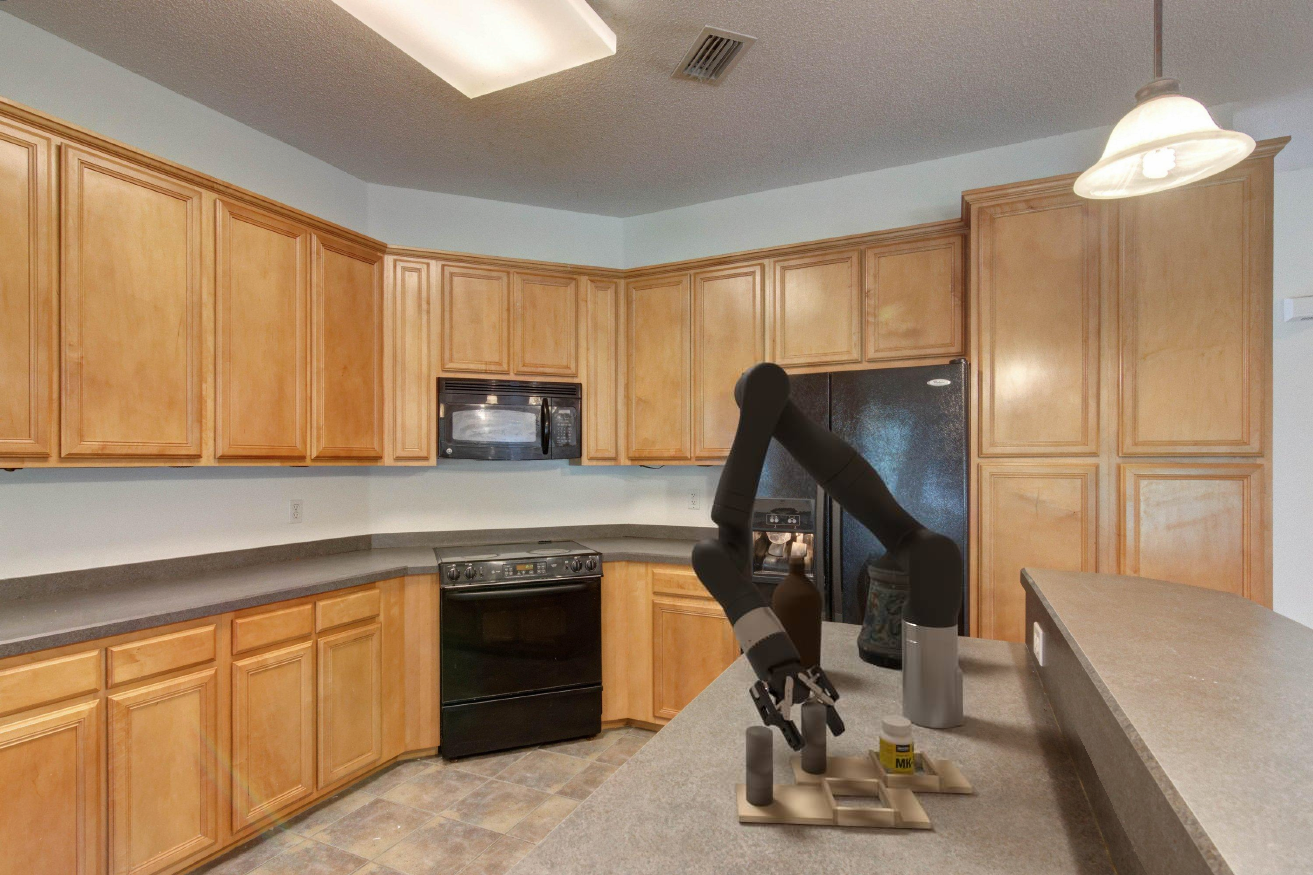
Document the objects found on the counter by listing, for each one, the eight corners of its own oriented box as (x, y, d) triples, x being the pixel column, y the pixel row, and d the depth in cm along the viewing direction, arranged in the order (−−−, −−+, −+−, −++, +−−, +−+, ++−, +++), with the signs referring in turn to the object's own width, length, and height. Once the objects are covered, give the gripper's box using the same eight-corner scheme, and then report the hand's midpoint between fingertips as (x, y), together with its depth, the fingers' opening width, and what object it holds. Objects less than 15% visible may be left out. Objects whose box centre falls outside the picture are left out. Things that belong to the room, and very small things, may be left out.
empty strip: (910, 794, 90) (909, 723, 90) (930, 828, 82) (930, 749, 82) (735, 788, 91) (735, 718, 91) (738, 821, 83) (738, 744, 83)
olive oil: (784, 684, 133) (784, 561, 133) (764, 667, 143) (764, 553, 144) (832, 680, 135) (831, 559, 136) (809, 663, 145) (808, 551, 146)
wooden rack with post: (950, 765, 98) (949, 699, 98) (972, 793, 90) (971, 721, 90) (789, 760, 100) (789, 695, 100) (797, 787, 92) (797, 717, 92)
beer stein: (842, 651, 154) (842, 546, 155) (911, 644, 160) (910, 542, 161) (887, 674, 138) (886, 556, 139) (961, 665, 144) (960, 552, 145)
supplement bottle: (897, 789, 91) (896, 729, 92) (872, 774, 96) (871, 717, 96) (921, 781, 93) (921, 723, 94) (896, 767, 98) (895, 711, 98)
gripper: (743, 637, 98) (800, 741, 88) (808, 623, 106) (867, 717, 96) (720, 663, 102) (773, 765, 93) (785, 647, 110) (839, 740, 101)
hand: (821, 741), depth 95 cm, fingers open, 8 cm apart
